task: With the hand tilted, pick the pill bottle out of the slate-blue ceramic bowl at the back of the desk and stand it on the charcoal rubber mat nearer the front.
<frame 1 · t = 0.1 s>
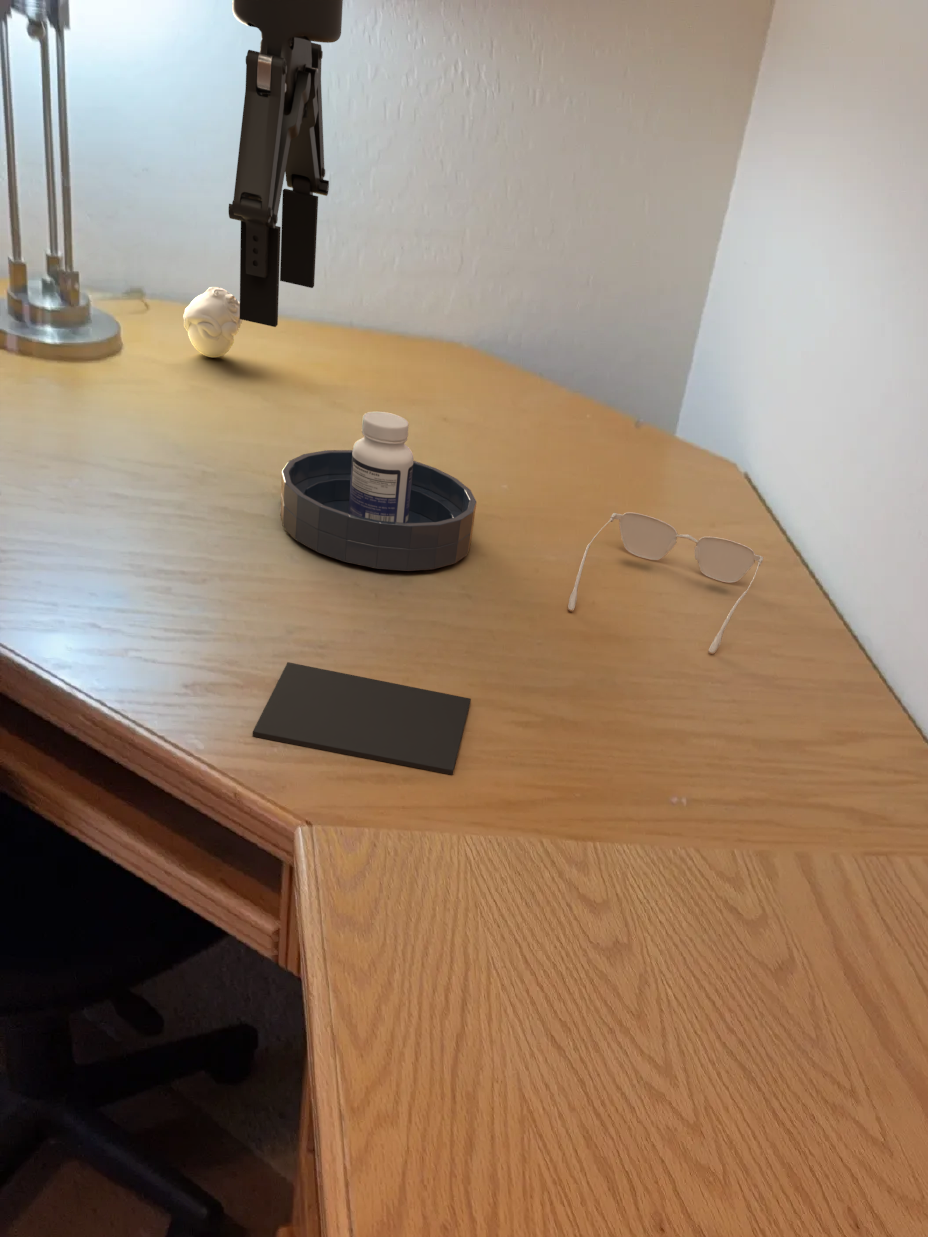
hand: (278, 302, 102), 18 cm above the table, tool pointing down, fingers open, 13 cm apart
pill bottle: (376, 532, 118), resting on bowl
bowl: (376, 535, 118), on the table
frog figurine: (212, 358, 147), on the table
mat: (366, 719, 93), on the table
eyeglasses: (660, 601, 120), on the table
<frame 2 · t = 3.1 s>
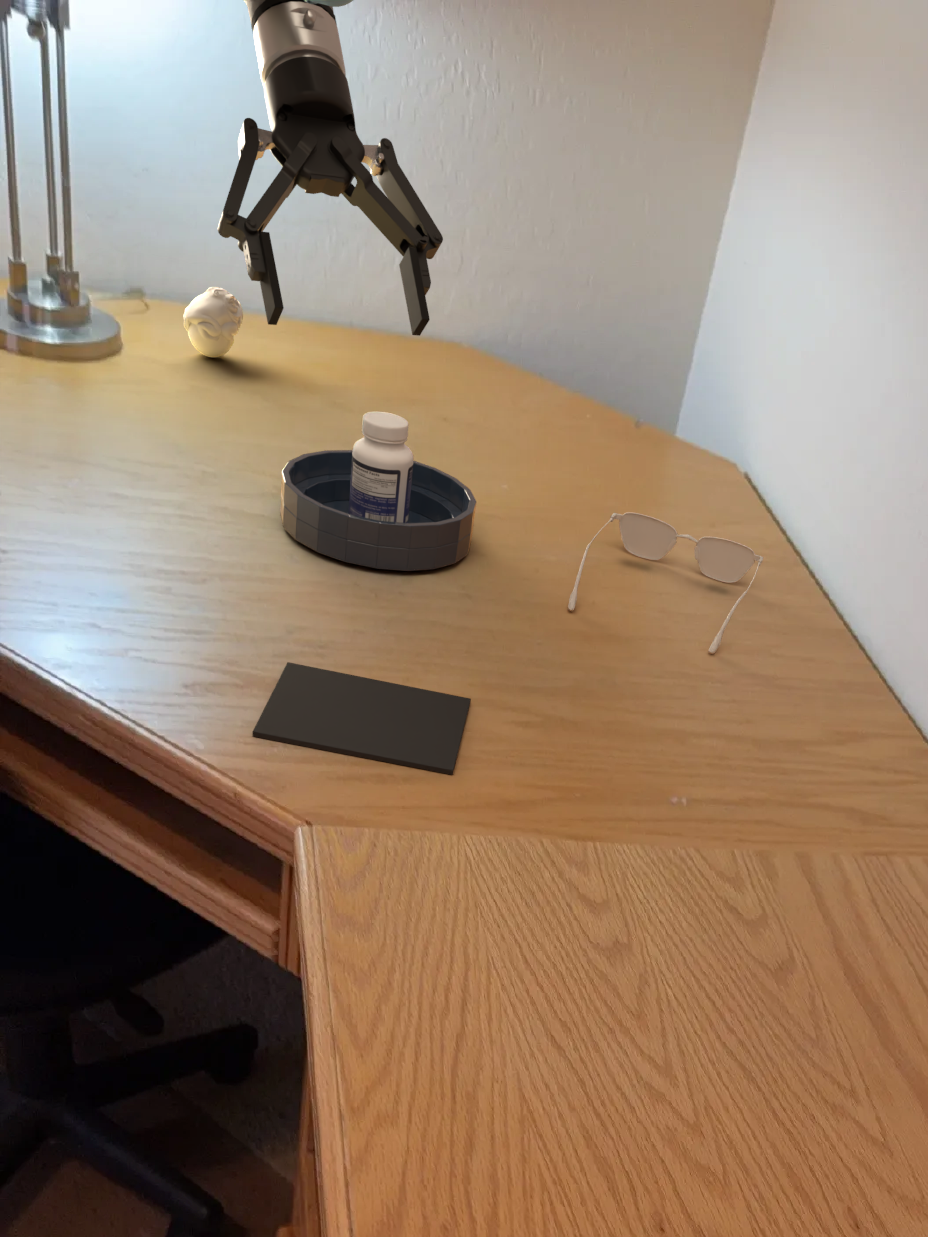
hand: (350, 322, 115), 15 cm above the table, tool tilted 45°, fingers open, 13 cm apart
nothing on the table moved.
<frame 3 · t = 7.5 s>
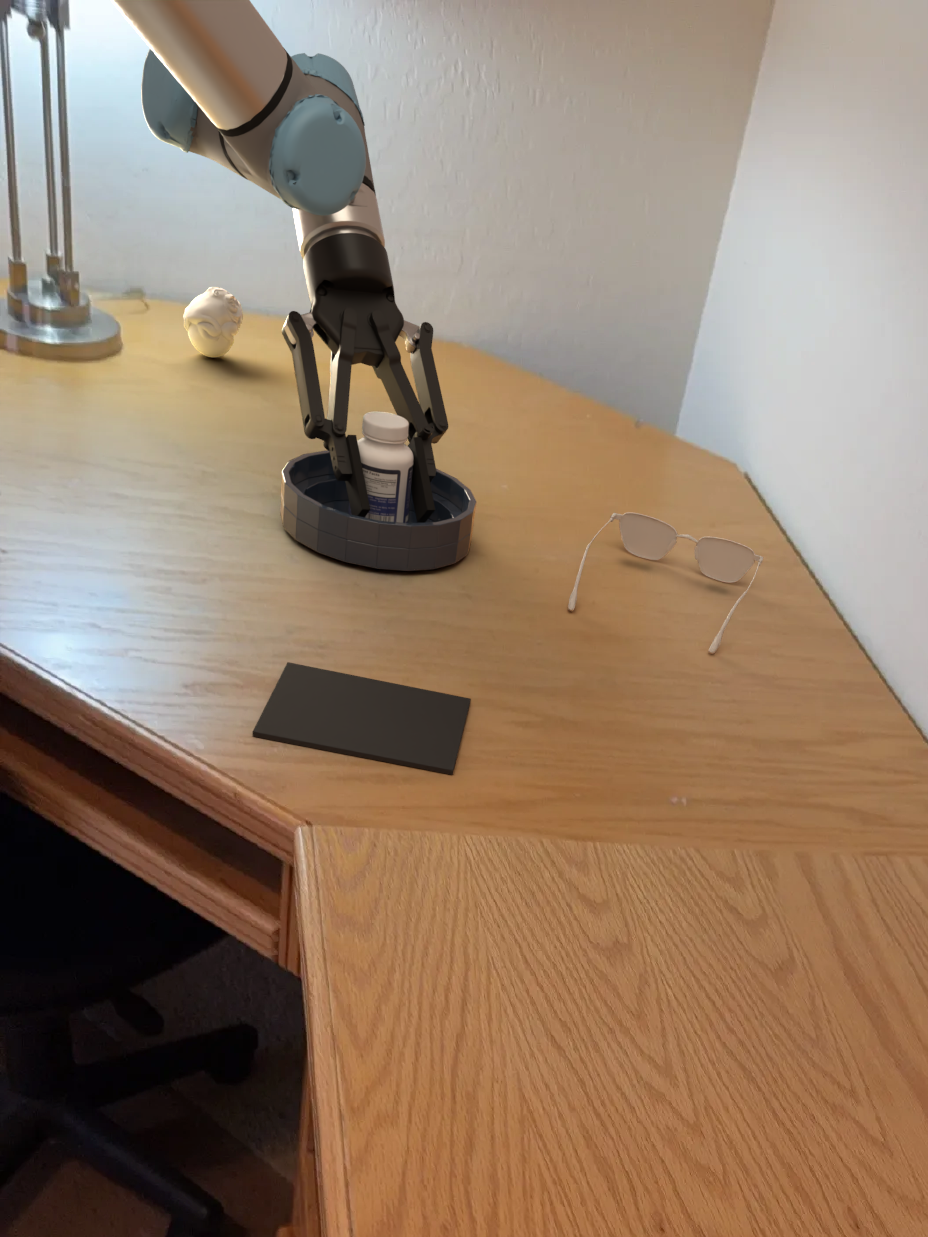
hand: (394, 515, 114), 3 cm above the table, tool tilted 45°, fingers closed on pill bottle, 5 cm apart
pill bottle: (376, 532, 118), resting on bowl, touching gripper
everything else where it was.
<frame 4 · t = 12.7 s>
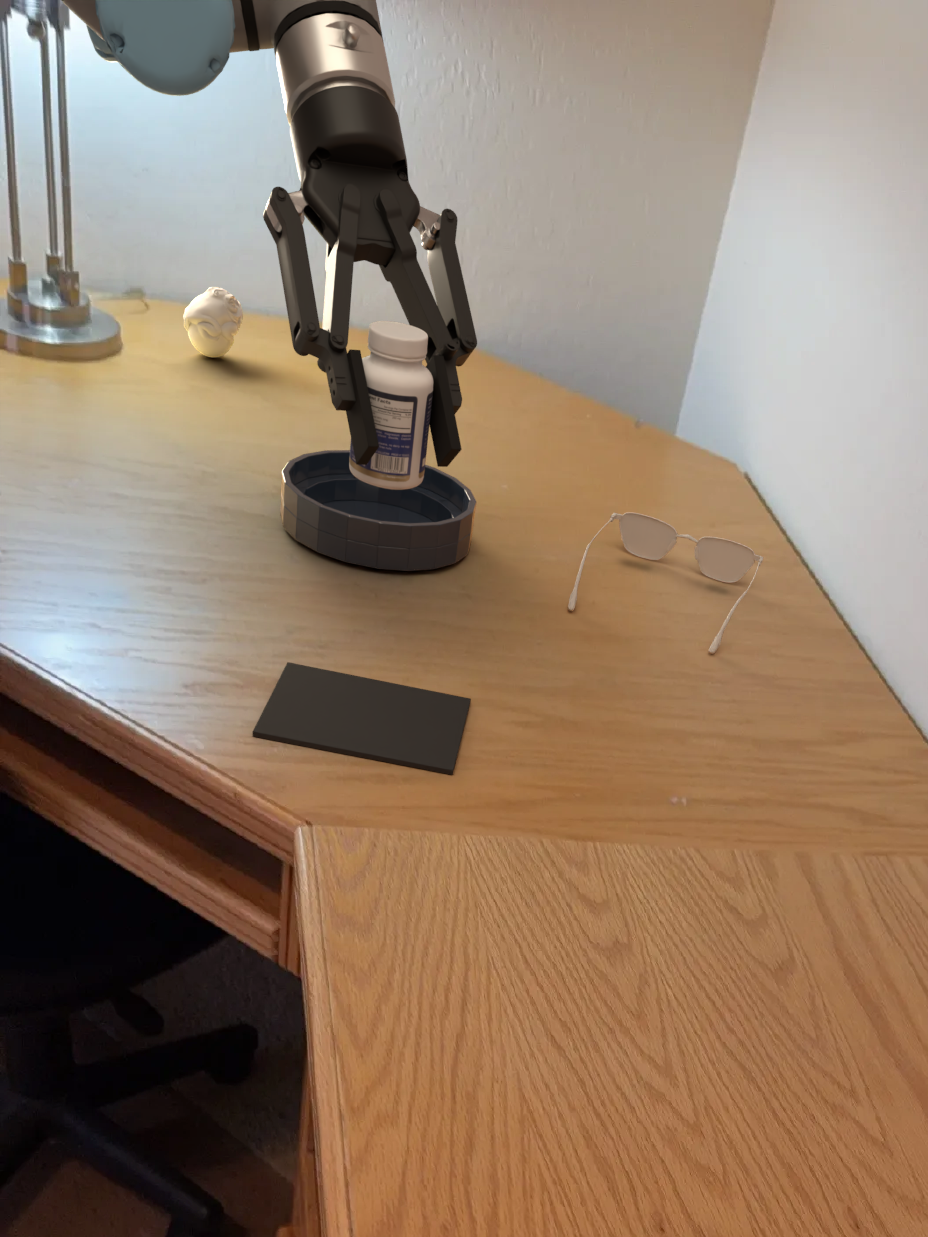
hand: (409, 456, 89), 16 cm above the table, tool tilted 45°, fingers closed on pill bottle, 5 cm apart
pill bottle: (385, 479, 93), point 13 cm above the table, touching gripper
everything else where it was.
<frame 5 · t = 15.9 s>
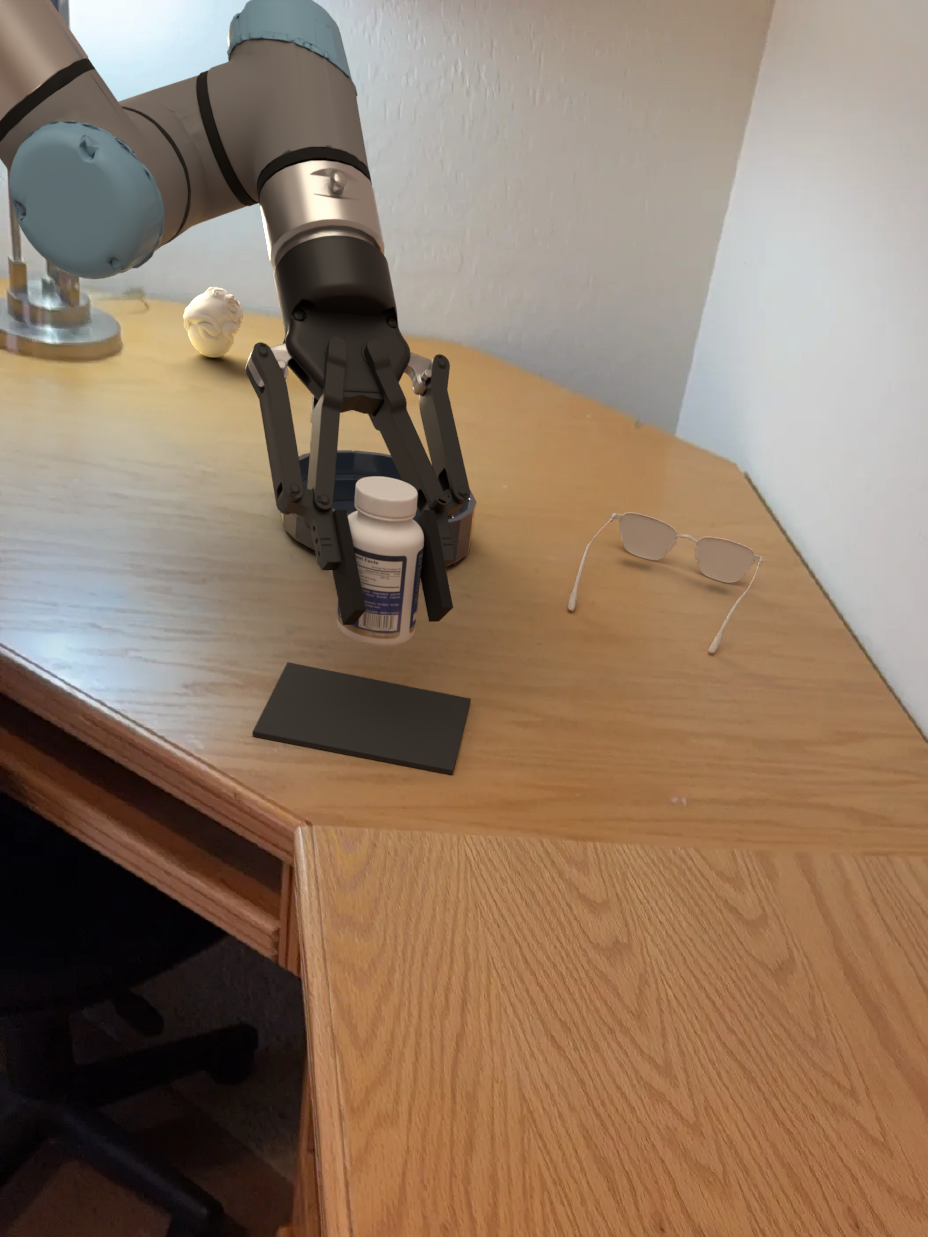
hand: (398, 615, 85), 10 cm above the table, tool tilted 45°, fingers closed on pill bottle, 5 cm apart
pill bottle: (375, 632, 89), point 7 cm above the table, touching gripper
everything else where it was.
when the fingers open (3 cm above the table, at t = 18.0 s): pill bottle stays where it is, resting on mat.
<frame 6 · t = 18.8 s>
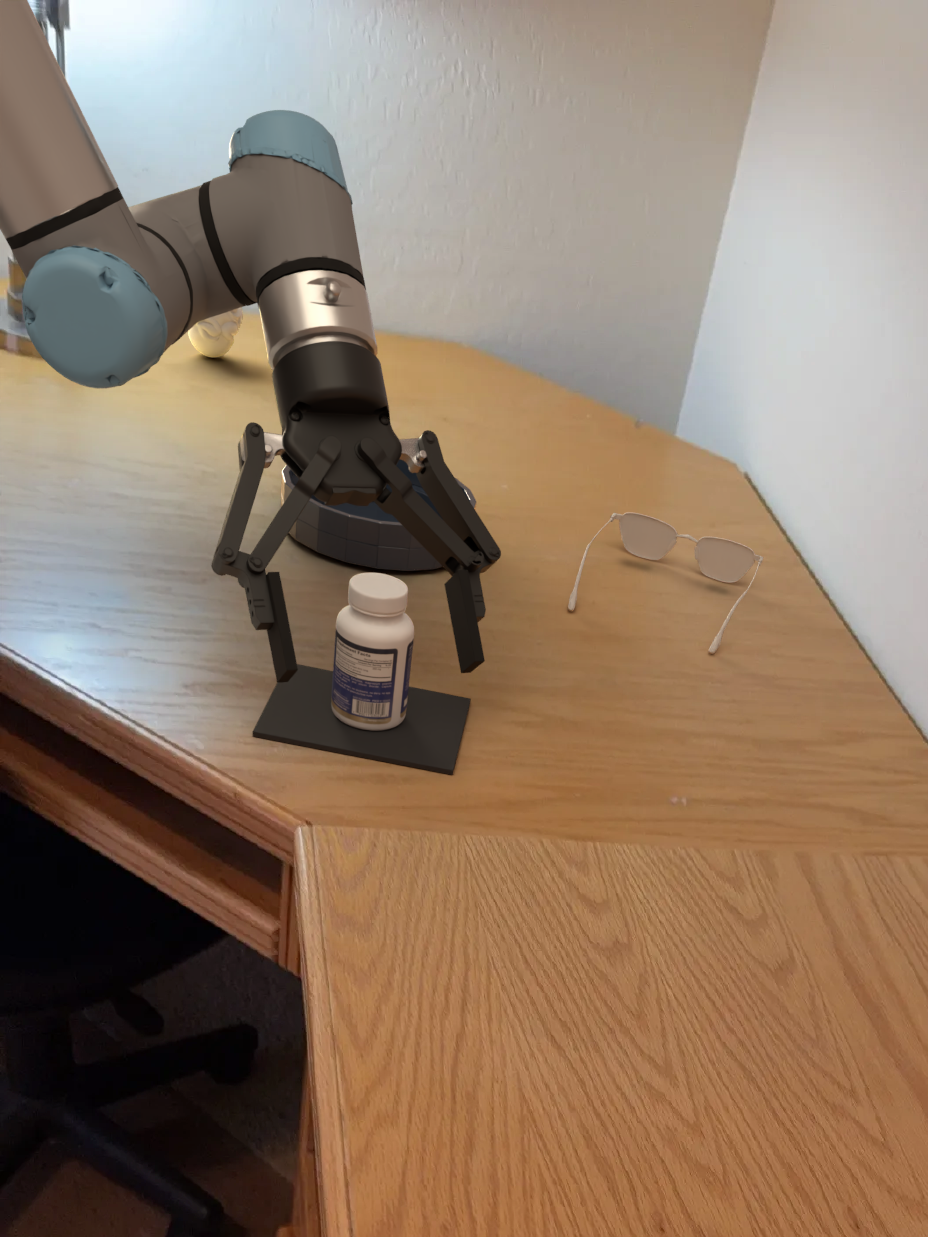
hand: (383, 672, 89), 5 cm above the table, tool tilted 45°, fingers open, 13 cm apart
pill bottle: (367, 716, 93), resting on mat
everything else where it was.
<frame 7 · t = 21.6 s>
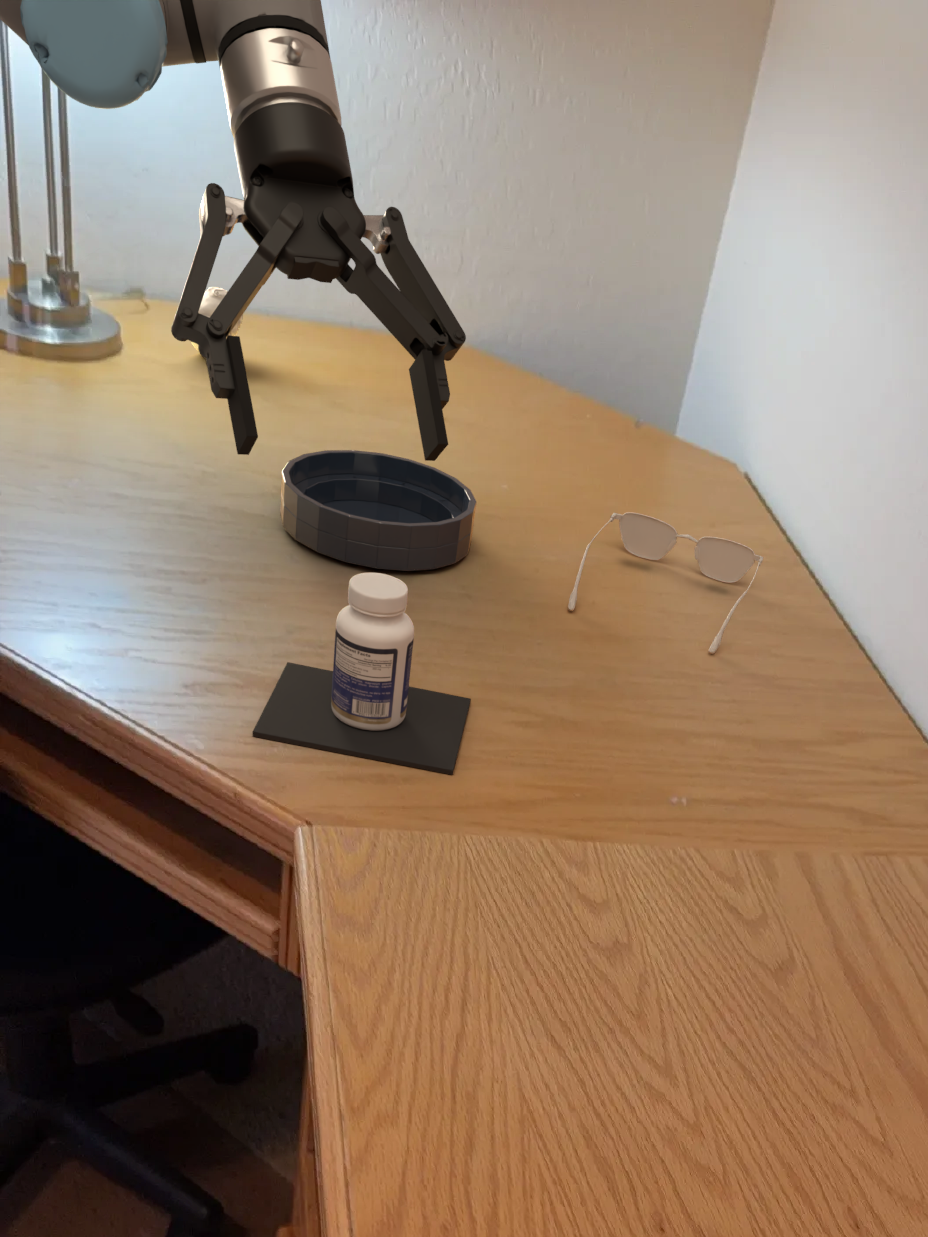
hand: (345, 450, 88), 16 cm above the table, tool tilted 45°, fingers open, 13 cm apart
nothing on the table moved.
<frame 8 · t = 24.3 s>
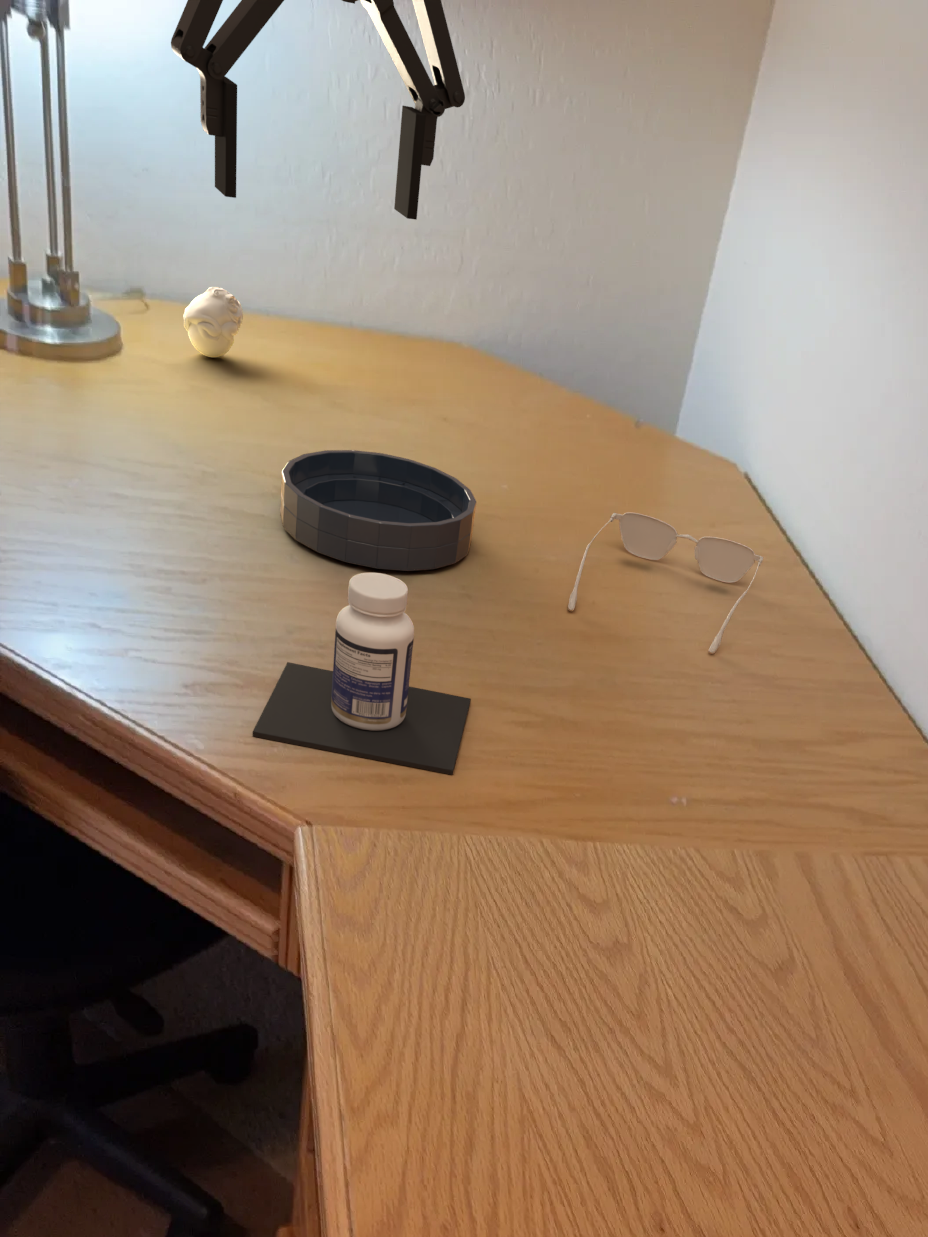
hand: (318, 204, 94), 27 cm above the table, tool pointing down, fingers open, 13 cm apart
nothing on the table moved.
at the end: pill bottle inside the target area on the mat (0.0 cm from its centre), point 0.2 cm above the mat's base; pill bottle tilted 0°; pill bottle touching mat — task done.
